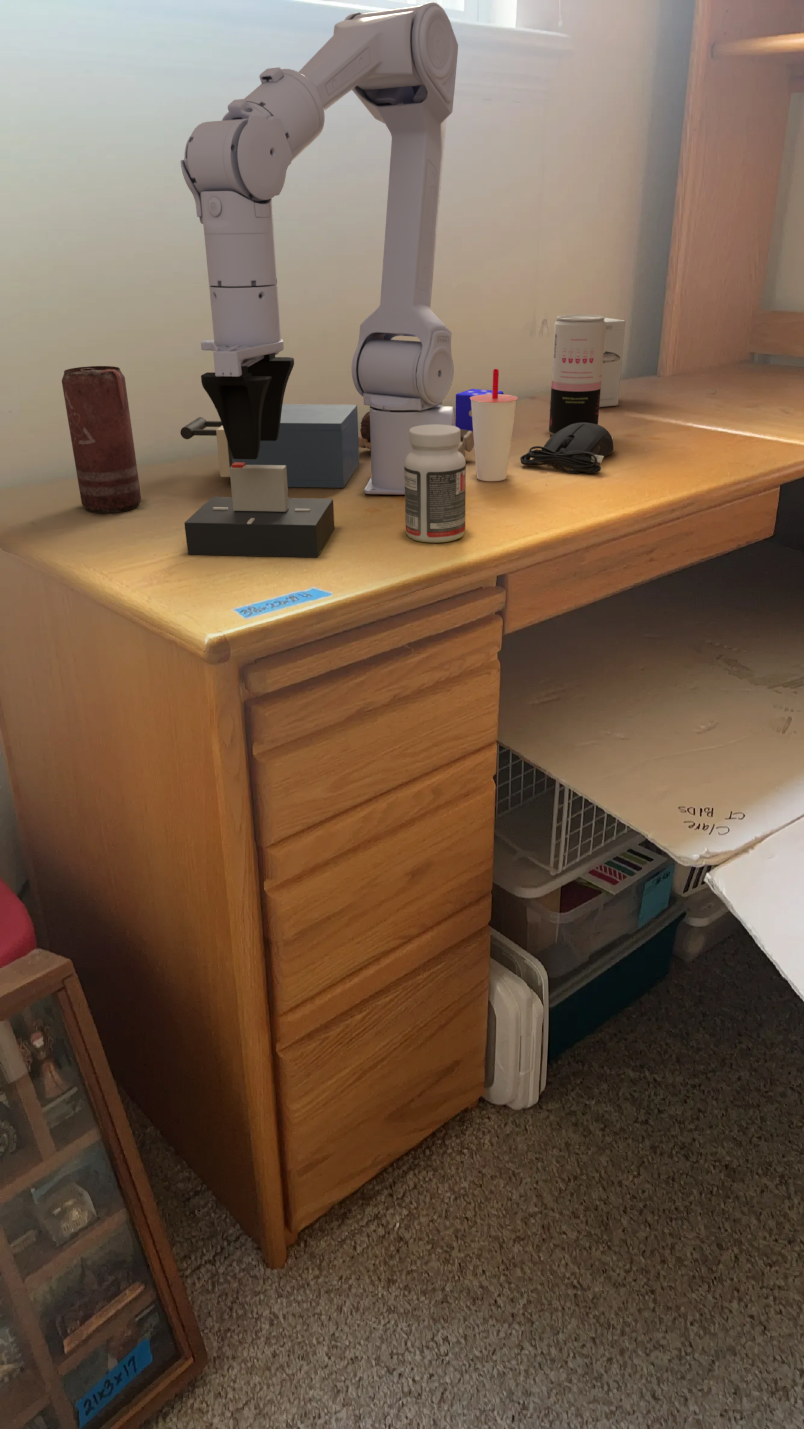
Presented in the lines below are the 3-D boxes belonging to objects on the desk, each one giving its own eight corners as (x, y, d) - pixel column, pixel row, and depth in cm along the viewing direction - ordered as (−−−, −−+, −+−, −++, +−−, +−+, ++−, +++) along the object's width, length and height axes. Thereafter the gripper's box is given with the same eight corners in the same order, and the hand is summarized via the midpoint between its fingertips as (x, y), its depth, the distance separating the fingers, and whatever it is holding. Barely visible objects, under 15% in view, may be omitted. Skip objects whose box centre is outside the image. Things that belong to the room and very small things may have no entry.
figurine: (481, 468, 126) (381, 448, 132) (488, 425, 124) (387, 407, 130) (454, 470, 119) (350, 449, 125) (460, 425, 117) (355, 406, 123)
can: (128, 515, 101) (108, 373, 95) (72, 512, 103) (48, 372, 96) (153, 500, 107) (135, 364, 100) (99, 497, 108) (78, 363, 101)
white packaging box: (580, 410, 150) (586, 322, 144) (553, 403, 156) (557, 317, 150) (619, 406, 153) (627, 319, 147) (590, 399, 159) (597, 315, 153)
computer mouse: (636, 451, 125) (639, 420, 123) (596, 476, 114) (599, 442, 112) (561, 443, 129) (563, 413, 128) (516, 467, 118) (517, 434, 116)
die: (454, 430, 138) (455, 393, 136) (471, 424, 142) (471, 388, 139) (486, 434, 136) (487, 396, 133) (502, 427, 139) (503, 390, 137)
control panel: (334, 528, 96) (333, 496, 95) (317, 558, 88) (315, 523, 87) (215, 526, 98) (212, 494, 96) (187, 555, 89) (183, 521, 88)
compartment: (234, 486, 112) (228, 422, 108) (258, 462, 122) (254, 403, 119) (343, 488, 110) (341, 423, 107) (359, 464, 121) (357, 404, 117)
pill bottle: (472, 529, 95) (474, 424, 91) (455, 546, 91) (457, 437, 86) (415, 524, 97) (415, 421, 93) (396, 541, 92) (395, 433, 88)
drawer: (178, 476, 112) (173, 429, 110) (205, 456, 122) (200, 411, 119) (319, 478, 111) (317, 430, 108) (335, 457, 120) (333, 412, 117)
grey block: (289, 507, 92) (286, 462, 90) (286, 512, 91) (282, 465, 89) (237, 507, 92) (232, 461, 90) (233, 511, 91) (228, 465, 89)
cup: (510, 484, 111) (514, 373, 105) (463, 482, 112) (465, 371, 106) (518, 473, 115) (522, 366, 110) (473, 471, 117) (475, 364, 111)
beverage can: (553, 428, 138) (559, 314, 131) (600, 430, 136) (609, 314, 130) (544, 437, 133) (550, 318, 126) (593, 440, 131) (602, 319, 124)
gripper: (220, 280, 90) (234, 432, 96) (169, 291, 77) (189, 466, 83) (296, 279, 89) (305, 433, 95) (258, 291, 76) (270, 467, 82)
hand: (256, 448), depth 89 cm, fingers open, 7 cm apart
